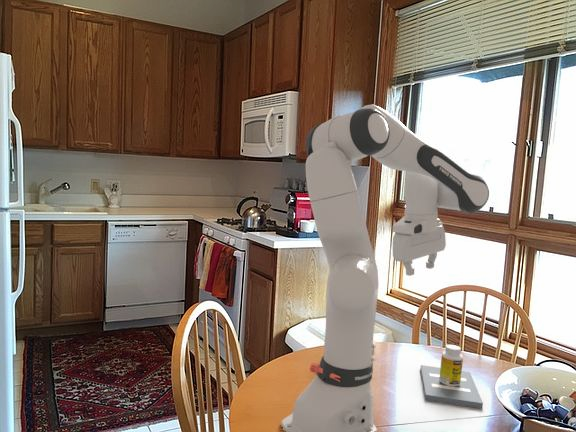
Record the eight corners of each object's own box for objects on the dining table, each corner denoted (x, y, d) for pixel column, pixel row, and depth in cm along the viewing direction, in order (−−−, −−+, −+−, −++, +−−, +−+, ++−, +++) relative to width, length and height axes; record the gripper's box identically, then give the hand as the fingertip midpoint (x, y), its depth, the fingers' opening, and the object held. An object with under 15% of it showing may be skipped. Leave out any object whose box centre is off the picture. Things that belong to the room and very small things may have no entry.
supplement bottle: (451, 388, 130) (455, 352, 129) (434, 380, 134) (438, 345, 133) (464, 384, 133) (468, 349, 132) (448, 376, 137) (451, 342, 136)
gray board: (482, 409, 123) (482, 403, 123) (425, 400, 126) (425, 394, 126) (469, 376, 142) (469, 371, 142) (420, 370, 145) (420, 364, 145)
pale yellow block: (357, 365, 146) (359, 347, 146) (341, 354, 154) (342, 337, 154) (384, 361, 151) (385, 344, 150) (367, 350, 159) (368, 334, 158)
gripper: (432, 216, 142) (431, 262, 145) (388, 226, 130) (388, 276, 132) (451, 219, 138) (450, 266, 140) (408, 229, 125) (407, 281, 127)
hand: (420, 271), depth 136 cm, fingers open, 8 cm apart
